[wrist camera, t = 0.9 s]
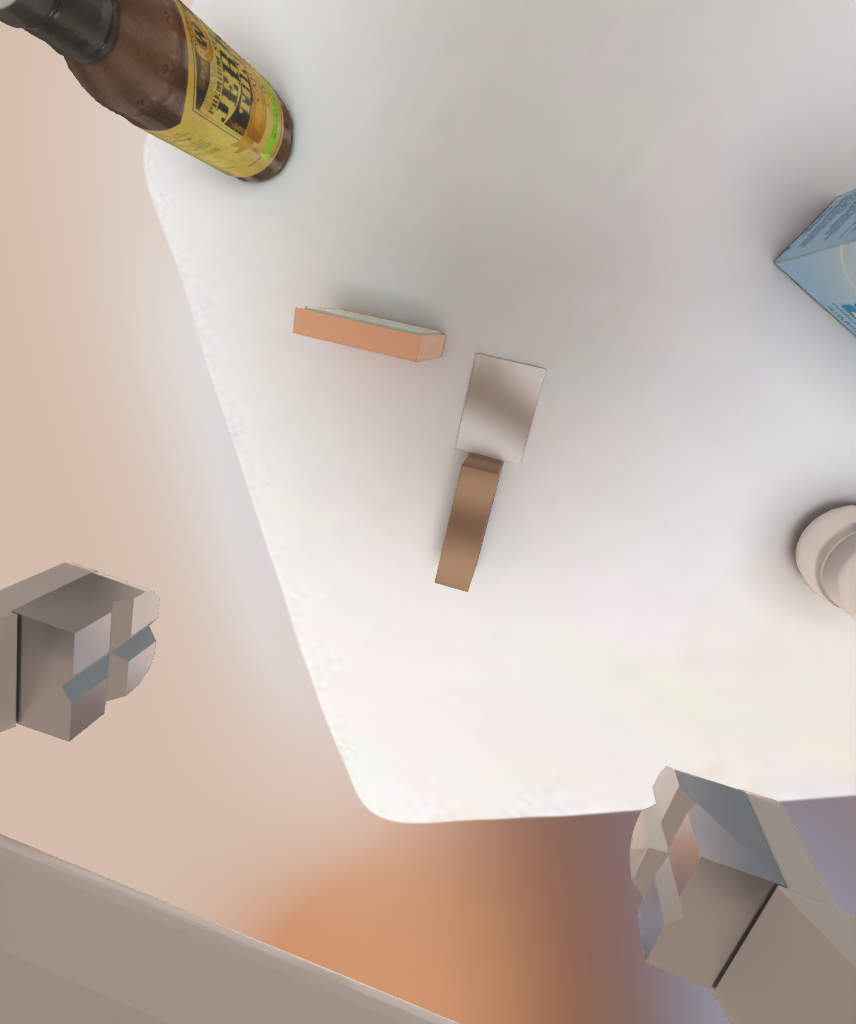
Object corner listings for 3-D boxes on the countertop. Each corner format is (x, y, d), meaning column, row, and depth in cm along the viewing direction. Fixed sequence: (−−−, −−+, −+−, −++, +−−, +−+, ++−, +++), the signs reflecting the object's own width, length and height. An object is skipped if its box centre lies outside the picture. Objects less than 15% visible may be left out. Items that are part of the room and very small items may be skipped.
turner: (491, 569, 45) (484, 596, 41) (431, 552, 46) (418, 577, 41) (546, 369, 40) (545, 374, 35) (477, 353, 41) (467, 356, 36)
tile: (338, 332, 42) (292, 332, 35) (342, 309, 42) (296, 304, 34) (441, 356, 41) (417, 361, 34) (446, 332, 41) (422, 333, 33)
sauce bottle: (308, 169, 39) (87, 25, 21) (230, 196, 41) (-39, 84, 22) (282, 63, 38) (17, -197, 19) (201, 95, 39) (-114, -115, 21)
